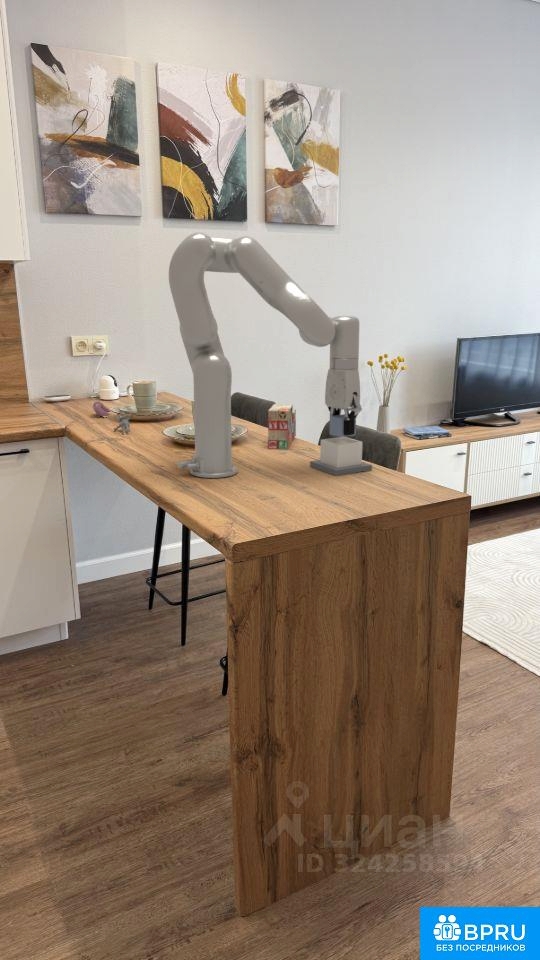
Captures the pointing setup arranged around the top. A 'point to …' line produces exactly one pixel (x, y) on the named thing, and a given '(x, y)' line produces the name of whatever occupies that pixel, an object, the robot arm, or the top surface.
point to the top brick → (338, 426)
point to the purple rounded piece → (100, 409)
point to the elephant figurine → (124, 423)
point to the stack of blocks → (281, 426)
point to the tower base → (340, 470)
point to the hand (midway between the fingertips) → (342, 432)
